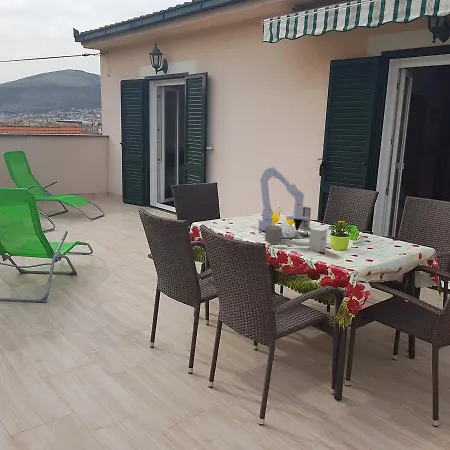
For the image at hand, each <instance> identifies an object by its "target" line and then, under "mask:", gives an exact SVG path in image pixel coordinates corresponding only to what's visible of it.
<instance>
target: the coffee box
mask: <svg viewBox="0 0 450 450" xmlns="http://www.w3.org/2000/svg"><path fill="white" fill-rule="evenodd" d="M311 209H312V208H311V207H307V206H304V205H303V214H302V216H303V217H309V220H302V223H301V224H300V226H299V229H301V230H306V229H310V222H311Z"/></svg>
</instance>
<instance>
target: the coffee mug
mask: <svg viewBox="0 0 450 450" xmlns="http://www.w3.org/2000/svg"><path fill="white" fill-rule="evenodd" d="M282 228H283V227H281V226H280V225H273V224H272V225H270V226H266V229H265V232H264V234H265V235H264V241H265V242H267V243H269V244H270V245H271V246H279V245H278V243H281V242H282V238H281V235H282V231H283V229H282ZM270 245H269V246H270Z"/></svg>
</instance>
